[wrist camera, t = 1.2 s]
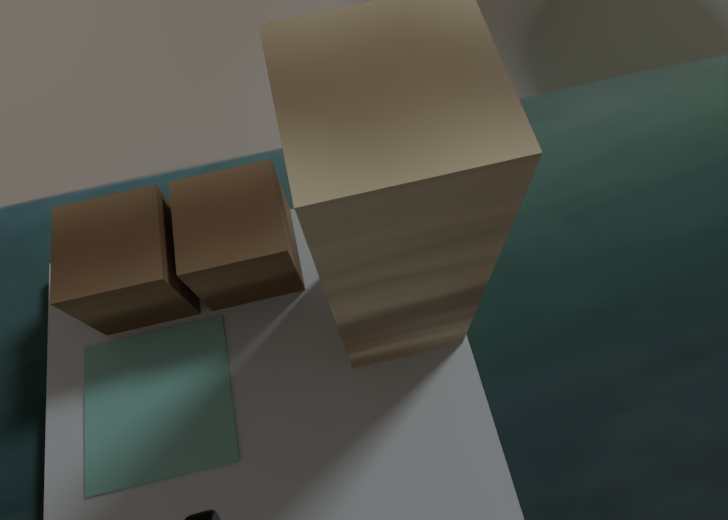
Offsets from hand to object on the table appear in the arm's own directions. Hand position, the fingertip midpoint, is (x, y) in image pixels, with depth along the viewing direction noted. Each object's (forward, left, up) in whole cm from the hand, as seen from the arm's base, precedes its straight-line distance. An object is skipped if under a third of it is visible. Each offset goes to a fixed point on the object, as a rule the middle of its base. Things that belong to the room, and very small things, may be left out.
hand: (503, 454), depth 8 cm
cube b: (+10, +6, -12) cm, 17 cm away
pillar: (+7, 0, -12) cm, 14 cm away
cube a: (+10, +10, -12) cm, 19 cm away
